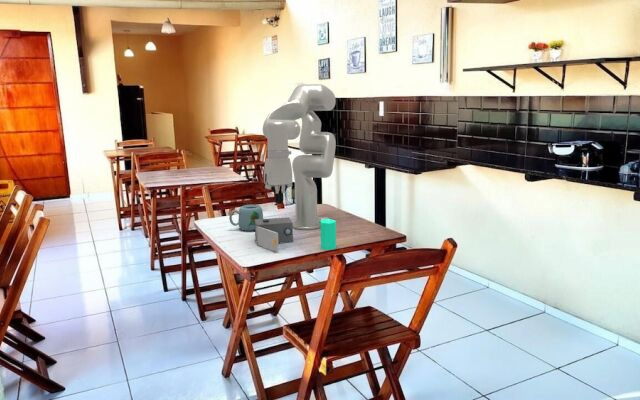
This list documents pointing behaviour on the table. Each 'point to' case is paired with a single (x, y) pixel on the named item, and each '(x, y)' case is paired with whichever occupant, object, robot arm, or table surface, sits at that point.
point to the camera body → (277, 228)
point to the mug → (247, 216)
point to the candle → (328, 234)
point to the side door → (267, 238)
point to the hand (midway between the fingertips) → (279, 203)
